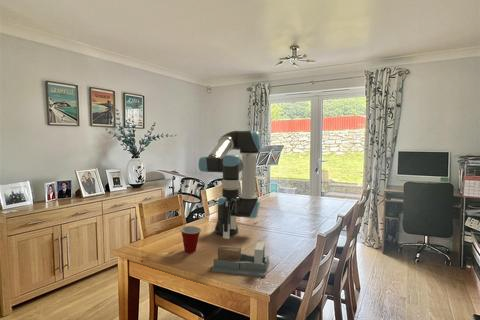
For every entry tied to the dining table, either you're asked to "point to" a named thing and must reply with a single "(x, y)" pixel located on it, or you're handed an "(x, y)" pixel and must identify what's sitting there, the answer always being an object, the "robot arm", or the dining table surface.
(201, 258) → the dining table surface
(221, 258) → the brown rectangular block
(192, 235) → the plastic cup
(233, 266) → the grey grooved base
